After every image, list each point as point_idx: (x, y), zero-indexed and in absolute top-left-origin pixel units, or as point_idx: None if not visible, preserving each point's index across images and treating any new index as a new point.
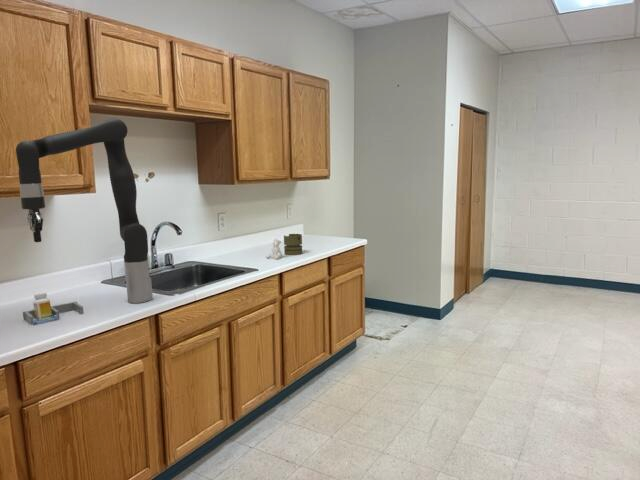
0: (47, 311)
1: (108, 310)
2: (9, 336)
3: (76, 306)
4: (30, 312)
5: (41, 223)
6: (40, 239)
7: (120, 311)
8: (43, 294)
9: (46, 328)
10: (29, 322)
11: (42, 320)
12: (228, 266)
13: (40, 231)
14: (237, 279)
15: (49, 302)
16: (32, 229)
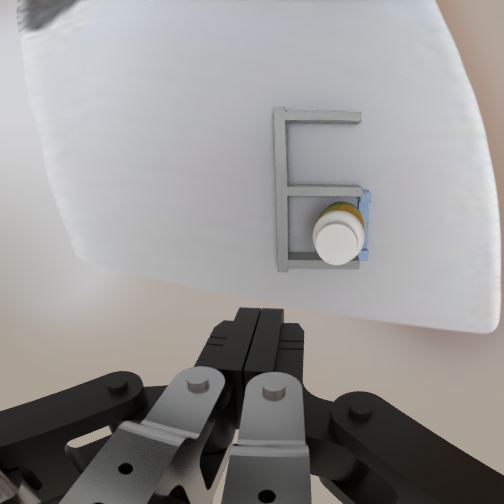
0: (363, 222)
1: (374, 53)
2: (407, 317)
3: (320, 120)
4: (287, 251)
5: (493, 487)
6: (302, 330)
7: (409, 38)
8: (356, 238)
9: (420, 239)
10: None
11: None
12: None
13: (297, 384)
14: None
15: (353, 214)
16: (225, 462)
